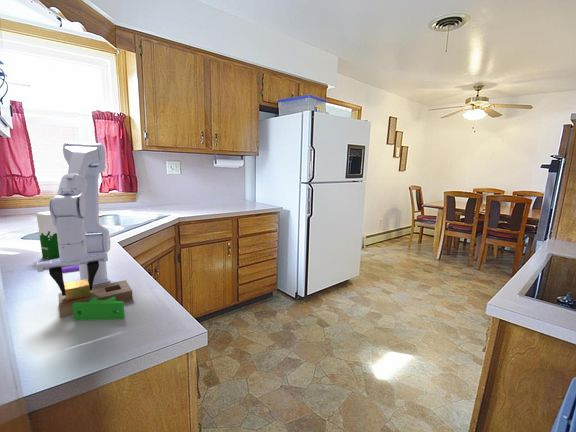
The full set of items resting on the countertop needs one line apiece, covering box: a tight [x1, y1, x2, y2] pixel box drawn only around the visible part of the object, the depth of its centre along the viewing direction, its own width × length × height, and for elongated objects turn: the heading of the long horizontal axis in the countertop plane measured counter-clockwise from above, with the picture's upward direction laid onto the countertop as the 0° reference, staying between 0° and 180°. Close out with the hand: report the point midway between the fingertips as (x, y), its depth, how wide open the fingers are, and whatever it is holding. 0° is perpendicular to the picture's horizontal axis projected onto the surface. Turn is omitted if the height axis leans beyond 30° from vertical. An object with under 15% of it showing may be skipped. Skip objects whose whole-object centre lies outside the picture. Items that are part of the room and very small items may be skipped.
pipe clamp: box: [72, 297, 126, 321], centre depth 71 cm, size 11×4×5 cm, turn 96°
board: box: [58, 279, 134, 318], centre depth 78 cm, size 9×16×3 cm, turn 129°
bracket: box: [62, 265, 79, 274], centre depth 104 cm, size 12×7×7 cm, turn 33°
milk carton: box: [35, 210, 60, 260], centre depth 114 cm, size 9×9×20 cm
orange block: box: [64, 279, 90, 301], centre depth 75 cm, size 5×5×6 cm
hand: (77, 291), depth 75 cm, fingers closed on orange block, 5 cm apart
